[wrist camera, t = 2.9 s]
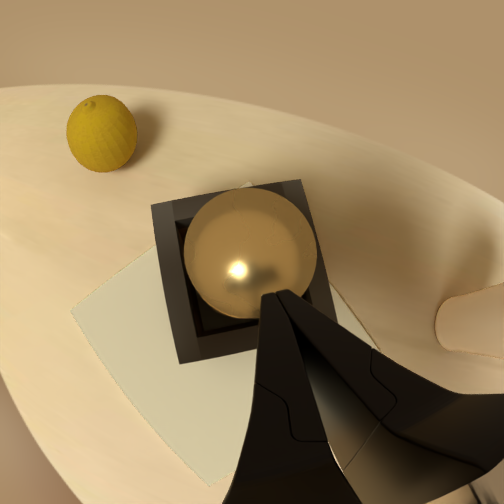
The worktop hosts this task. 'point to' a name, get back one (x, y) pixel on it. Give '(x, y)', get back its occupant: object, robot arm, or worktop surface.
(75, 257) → the worktop surface
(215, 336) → the wooden box
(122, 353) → the mat
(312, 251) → the peg
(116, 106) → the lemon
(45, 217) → the worktop surface
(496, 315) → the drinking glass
